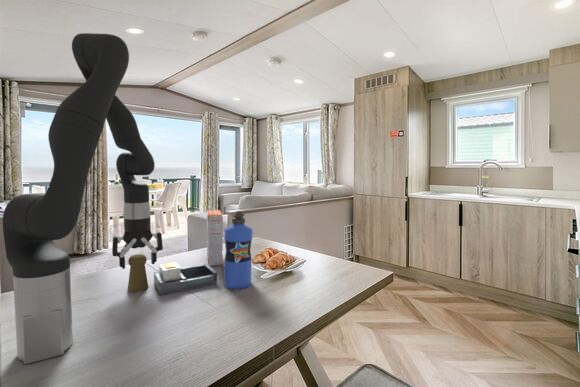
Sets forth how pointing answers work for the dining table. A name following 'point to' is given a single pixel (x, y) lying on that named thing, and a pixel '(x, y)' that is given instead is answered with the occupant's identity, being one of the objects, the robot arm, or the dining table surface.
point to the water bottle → (237, 253)
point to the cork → (137, 273)
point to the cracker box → (214, 237)
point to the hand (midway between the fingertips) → (138, 265)
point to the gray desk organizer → (183, 277)
